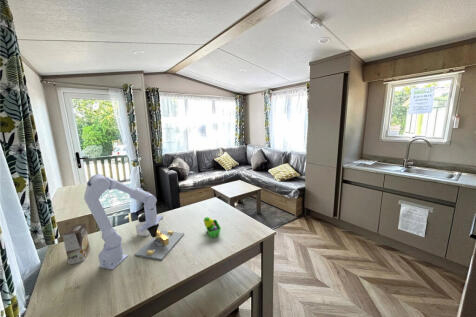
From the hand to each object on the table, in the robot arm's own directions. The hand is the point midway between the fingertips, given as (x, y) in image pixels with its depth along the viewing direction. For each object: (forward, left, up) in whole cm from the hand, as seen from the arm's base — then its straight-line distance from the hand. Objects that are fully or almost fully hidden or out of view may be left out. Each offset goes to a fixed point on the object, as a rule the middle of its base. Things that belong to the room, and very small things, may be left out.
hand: (153, 236), depth 108 cm
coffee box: (-19, +30, -4) cm, 35 cm away
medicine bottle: (+7, +12, -4) cm, 14 cm away
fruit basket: (+15, -29, -4) cm, 33 cm away
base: (-1, -5, -3) cm, 6 cm away
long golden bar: (-1, -5, -1) cm, 6 cm away
